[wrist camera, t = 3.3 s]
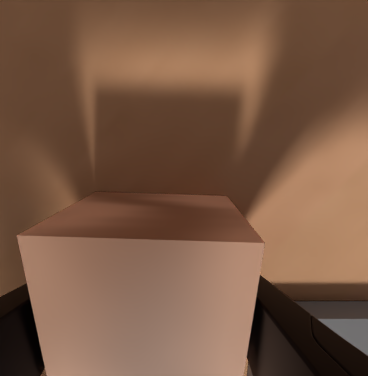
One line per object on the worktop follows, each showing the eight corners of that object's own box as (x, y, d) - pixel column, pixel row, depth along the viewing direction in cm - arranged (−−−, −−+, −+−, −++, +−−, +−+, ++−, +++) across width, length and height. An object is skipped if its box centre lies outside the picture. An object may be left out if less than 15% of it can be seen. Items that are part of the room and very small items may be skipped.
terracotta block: (105, 299, 10) (52, 403, 6) (96, 191, 8) (16, 235, 4) (216, 302, 10) (238, 408, 6) (226, 195, 8) (264, 243, 4)
